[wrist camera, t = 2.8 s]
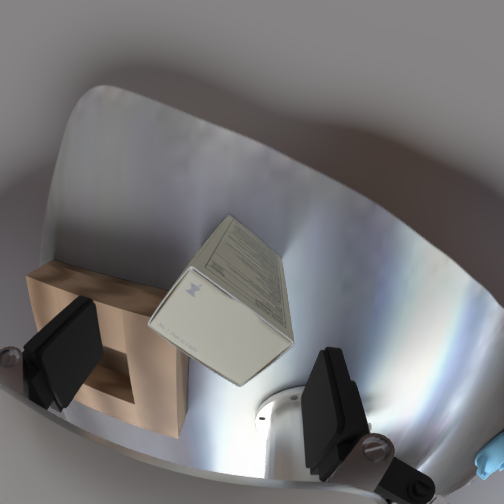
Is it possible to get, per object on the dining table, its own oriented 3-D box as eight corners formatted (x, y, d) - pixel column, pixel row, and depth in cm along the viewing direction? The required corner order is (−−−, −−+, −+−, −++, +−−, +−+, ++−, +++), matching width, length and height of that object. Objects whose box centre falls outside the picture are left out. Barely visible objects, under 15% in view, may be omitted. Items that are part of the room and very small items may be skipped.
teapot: (468, 454, 37) (480, 482, 26) (512, 420, 33) (526, 445, 22) (472, 463, 39) (481, 486, 29) (510, 434, 36) (522, 455, 25)
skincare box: (199, 249, 24) (139, 323, 12) (230, 211, 23) (187, 260, 11) (253, 293, 25) (238, 391, 13) (287, 258, 24) (297, 345, 12)
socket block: (193, 295, 25) (176, 323, 21) (187, 410, 31) (178, 438, 26) (53, 259, 26) (25, 275, 21) (75, 371, 31) (59, 391, 27)
